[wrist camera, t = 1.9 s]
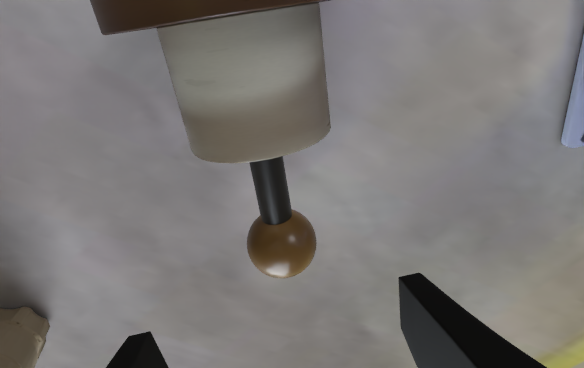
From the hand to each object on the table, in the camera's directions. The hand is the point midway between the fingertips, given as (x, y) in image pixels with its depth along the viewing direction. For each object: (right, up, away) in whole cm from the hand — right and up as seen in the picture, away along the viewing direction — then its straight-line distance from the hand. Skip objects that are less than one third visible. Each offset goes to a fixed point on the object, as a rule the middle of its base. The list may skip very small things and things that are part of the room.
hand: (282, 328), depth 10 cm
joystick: (-1, +7, +5) cm, 9 cm away
